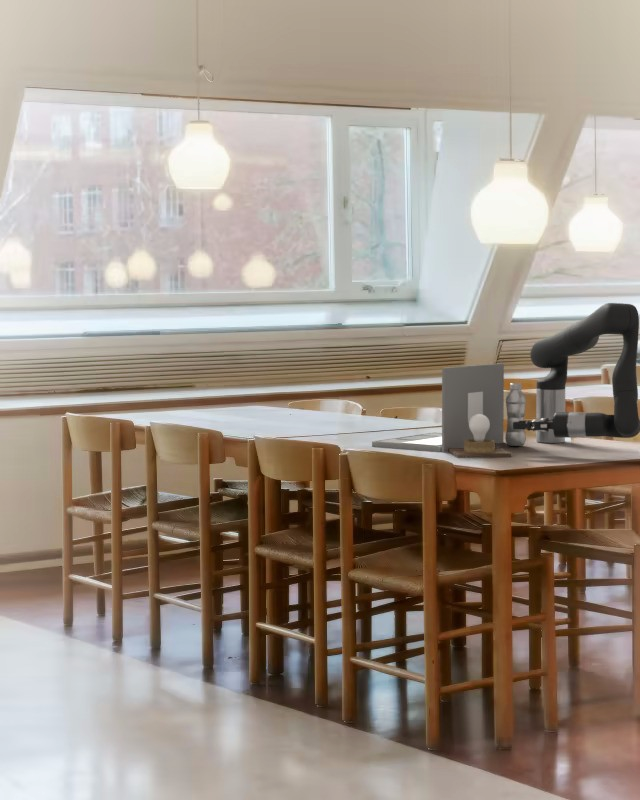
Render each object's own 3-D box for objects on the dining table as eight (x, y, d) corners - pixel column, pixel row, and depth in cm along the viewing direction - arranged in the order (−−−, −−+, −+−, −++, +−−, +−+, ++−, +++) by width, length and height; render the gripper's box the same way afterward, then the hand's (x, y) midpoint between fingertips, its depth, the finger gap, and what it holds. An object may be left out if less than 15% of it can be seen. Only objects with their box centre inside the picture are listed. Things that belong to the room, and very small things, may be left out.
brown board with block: (448, 451, 398) (448, 438, 398) (500, 450, 399) (500, 437, 399) (457, 457, 382) (457, 444, 382) (511, 456, 383) (511, 443, 383)
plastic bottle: (523, 445, 414) (524, 382, 413) (527, 447, 407) (528, 383, 406) (503, 445, 414) (503, 382, 412) (507, 447, 407) (507, 384, 406)
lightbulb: (475, 451, 388) (475, 415, 387) (464, 449, 393) (464, 413, 393) (493, 450, 390) (494, 414, 389) (482, 448, 396) (482, 412, 395)
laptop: (433, 438, 441) (434, 361, 439) (504, 443, 423) (504, 363, 421) (372, 447, 414) (371, 365, 412) (444, 453, 396) (444, 367, 394)
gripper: (574, 411, 389) (520, 411, 394) (566, 412, 375) (511, 413, 381) (574, 436, 389) (520, 436, 394) (567, 438, 375) (511, 438, 381)
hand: (516, 424), depth 387 cm, fingers open, 8 cm apart
